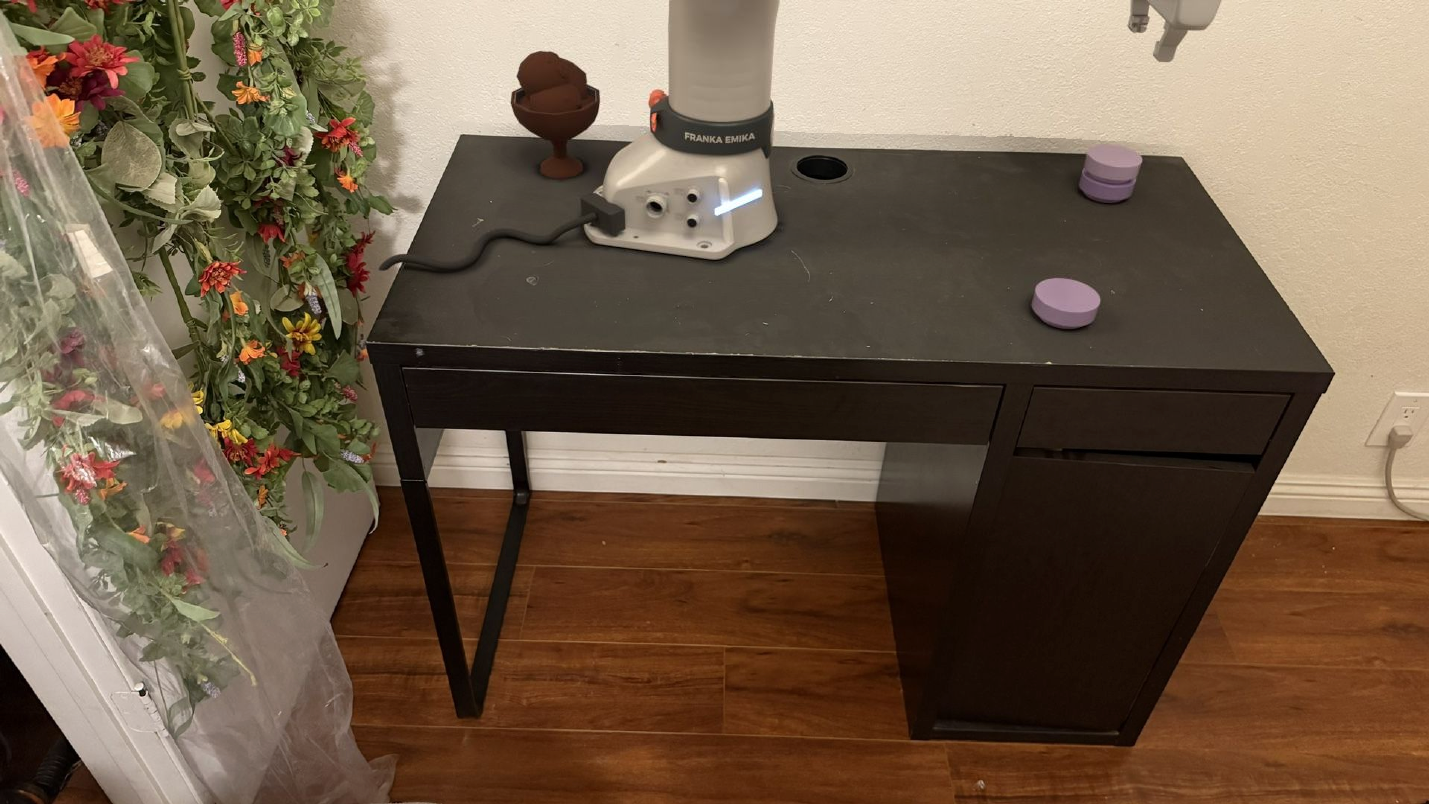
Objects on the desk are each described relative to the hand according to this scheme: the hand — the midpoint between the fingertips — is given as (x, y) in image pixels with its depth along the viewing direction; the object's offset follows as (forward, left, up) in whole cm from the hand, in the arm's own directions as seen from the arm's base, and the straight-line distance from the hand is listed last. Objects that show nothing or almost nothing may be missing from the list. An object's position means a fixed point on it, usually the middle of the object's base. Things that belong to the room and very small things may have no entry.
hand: (1148, 44), depth 112 cm
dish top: (0, 0, -16) cm, 16 cm away
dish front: (-12, -28, -19) cm, 36 cm away
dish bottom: (0, 0, -19) cm, 19 cm away
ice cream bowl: (-68, +2, -19) cm, 71 cm away
